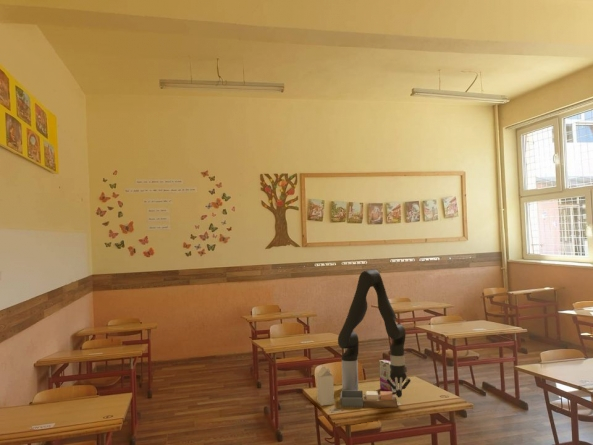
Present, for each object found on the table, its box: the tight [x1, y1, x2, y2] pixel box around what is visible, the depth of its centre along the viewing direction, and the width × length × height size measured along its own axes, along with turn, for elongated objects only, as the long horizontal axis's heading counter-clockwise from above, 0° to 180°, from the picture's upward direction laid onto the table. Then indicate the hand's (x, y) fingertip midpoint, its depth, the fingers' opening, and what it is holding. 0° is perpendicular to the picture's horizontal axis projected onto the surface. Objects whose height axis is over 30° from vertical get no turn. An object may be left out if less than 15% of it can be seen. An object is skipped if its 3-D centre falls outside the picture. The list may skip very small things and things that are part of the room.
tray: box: [339, 389, 364, 409], centre depth 244 cm, size 13×12×5 cm
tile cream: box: [365, 390, 379, 400], centre depth 242 cm, size 6×6×2 cm
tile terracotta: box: [379, 390, 394, 400], centre depth 241 cm, size 6×6×2 cm
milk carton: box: [316, 365, 335, 407], centre depth 245 cm, size 7×7×19 cm
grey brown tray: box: [363, 393, 398, 408], centre depth 242 cm, size 11×17×3 cm, turn 83°
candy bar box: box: [378, 359, 396, 394], centre depth 264 cm, size 11×5×16 cm, turn 25°
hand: (399, 396), depth 241 cm, fingers closed
